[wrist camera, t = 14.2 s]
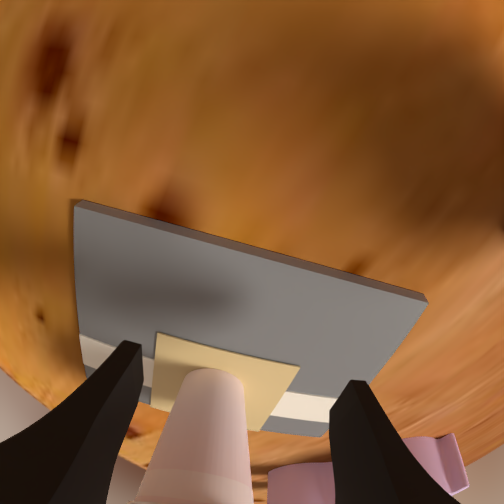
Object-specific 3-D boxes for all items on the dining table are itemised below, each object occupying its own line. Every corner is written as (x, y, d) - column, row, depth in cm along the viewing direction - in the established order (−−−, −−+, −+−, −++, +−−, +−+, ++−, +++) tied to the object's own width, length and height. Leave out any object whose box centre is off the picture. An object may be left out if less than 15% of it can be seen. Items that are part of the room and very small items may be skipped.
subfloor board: (423, 294, 15) (430, 305, 14) (319, 429, 22) (320, 439, 21) (82, 199, 14) (72, 207, 13) (91, 375, 20) (86, 384, 20)
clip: (276, 491, 31) (275, 538, 25) (262, 456, 25) (259, 521, 19) (430, 465, 29) (440, 509, 23) (462, 420, 23) (480, 476, 17)
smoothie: (228, 423, 20) (209, 606, 8) (146, 386, 19) (92, 584, 6) (288, 383, 18) (290, 619, 5) (193, 334, 16) (133, 613, 4)
